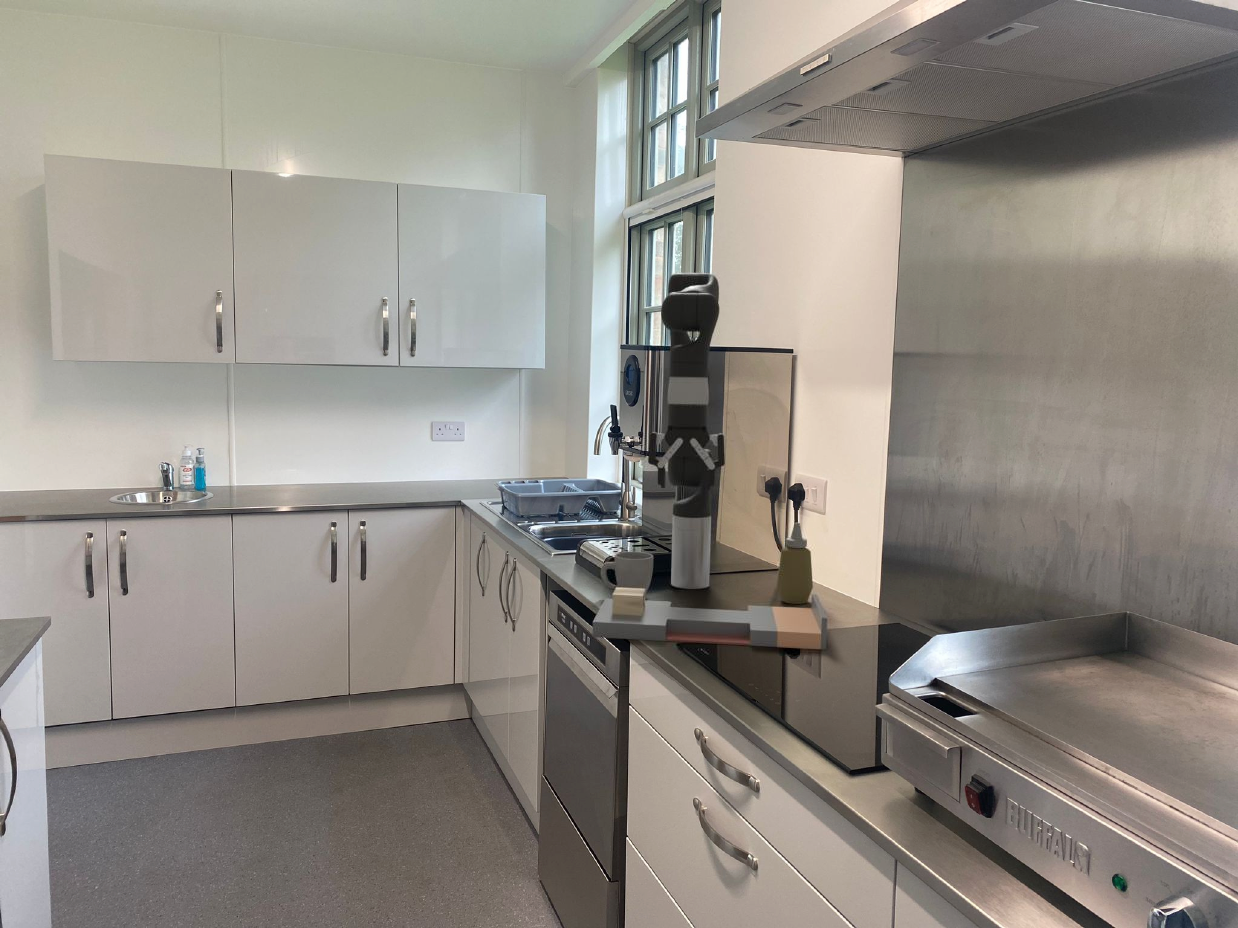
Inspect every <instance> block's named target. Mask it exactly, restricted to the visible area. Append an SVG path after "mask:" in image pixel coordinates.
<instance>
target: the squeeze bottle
mask: <svg viewBox="0 0 1238 928" xmlns="http://www.w3.org/2000/svg"><path fill="white" fill-rule="evenodd" d="M807 547H808V540H807V538H804V537H803V534H802V529H801V523H800V522H794V523H793V527H792V532H791V534H790V537H787V538H785V546H784V547H782V548H781V551H780V557H779V558H780V559H779V564H778V572H777V580H776V586H777V590H778V593H779V597H780V600H781V602H783V603H787V604H790V605H801V604H806V603H807V602H808V600H809V597H810V595H811V593H812V590H813V587H814V586H813V581H814V580H813V568H812V567H813V566H812V554H811V553H812V551H811V550H810V549H809V548H807Z"/></svg>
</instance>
